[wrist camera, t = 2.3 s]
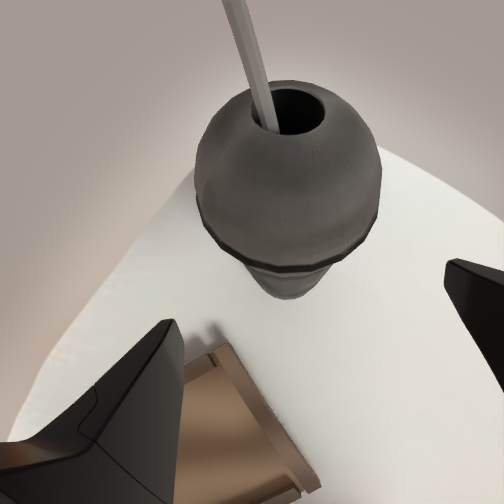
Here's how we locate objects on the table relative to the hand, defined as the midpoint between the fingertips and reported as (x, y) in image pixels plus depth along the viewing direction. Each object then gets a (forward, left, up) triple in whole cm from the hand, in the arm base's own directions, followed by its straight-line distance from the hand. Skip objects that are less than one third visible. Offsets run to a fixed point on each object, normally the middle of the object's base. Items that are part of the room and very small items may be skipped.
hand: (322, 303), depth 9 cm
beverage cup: (+4, -3, -13) cm, 14 cm away
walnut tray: (-1, +11, -12) cm, 17 cm away
